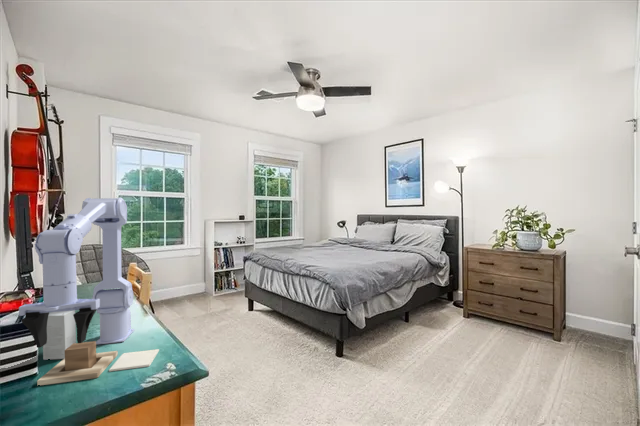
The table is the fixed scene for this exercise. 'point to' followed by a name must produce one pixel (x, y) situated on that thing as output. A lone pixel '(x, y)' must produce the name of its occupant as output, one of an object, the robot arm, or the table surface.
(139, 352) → the tile
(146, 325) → the table surface
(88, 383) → the table surface
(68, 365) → the walnut block
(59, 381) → the board
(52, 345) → the skincare box
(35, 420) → the table surface
